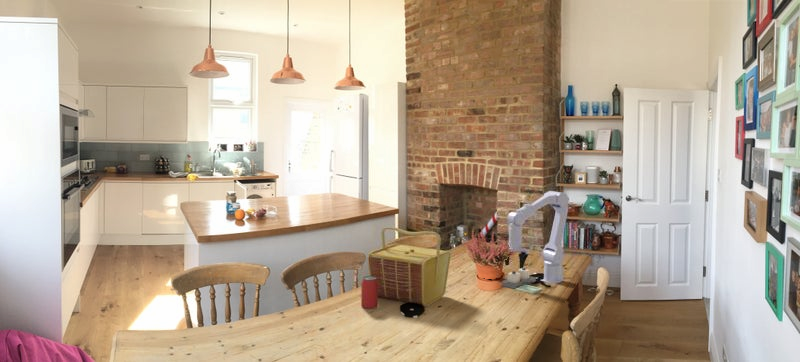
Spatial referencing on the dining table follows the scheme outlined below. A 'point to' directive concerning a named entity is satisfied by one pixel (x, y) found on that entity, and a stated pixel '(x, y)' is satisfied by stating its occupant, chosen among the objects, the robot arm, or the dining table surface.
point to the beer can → (369, 292)
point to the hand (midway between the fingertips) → (514, 266)
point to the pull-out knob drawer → (524, 273)
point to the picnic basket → (410, 270)
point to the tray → (528, 289)
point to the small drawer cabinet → (521, 283)
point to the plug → (513, 277)
